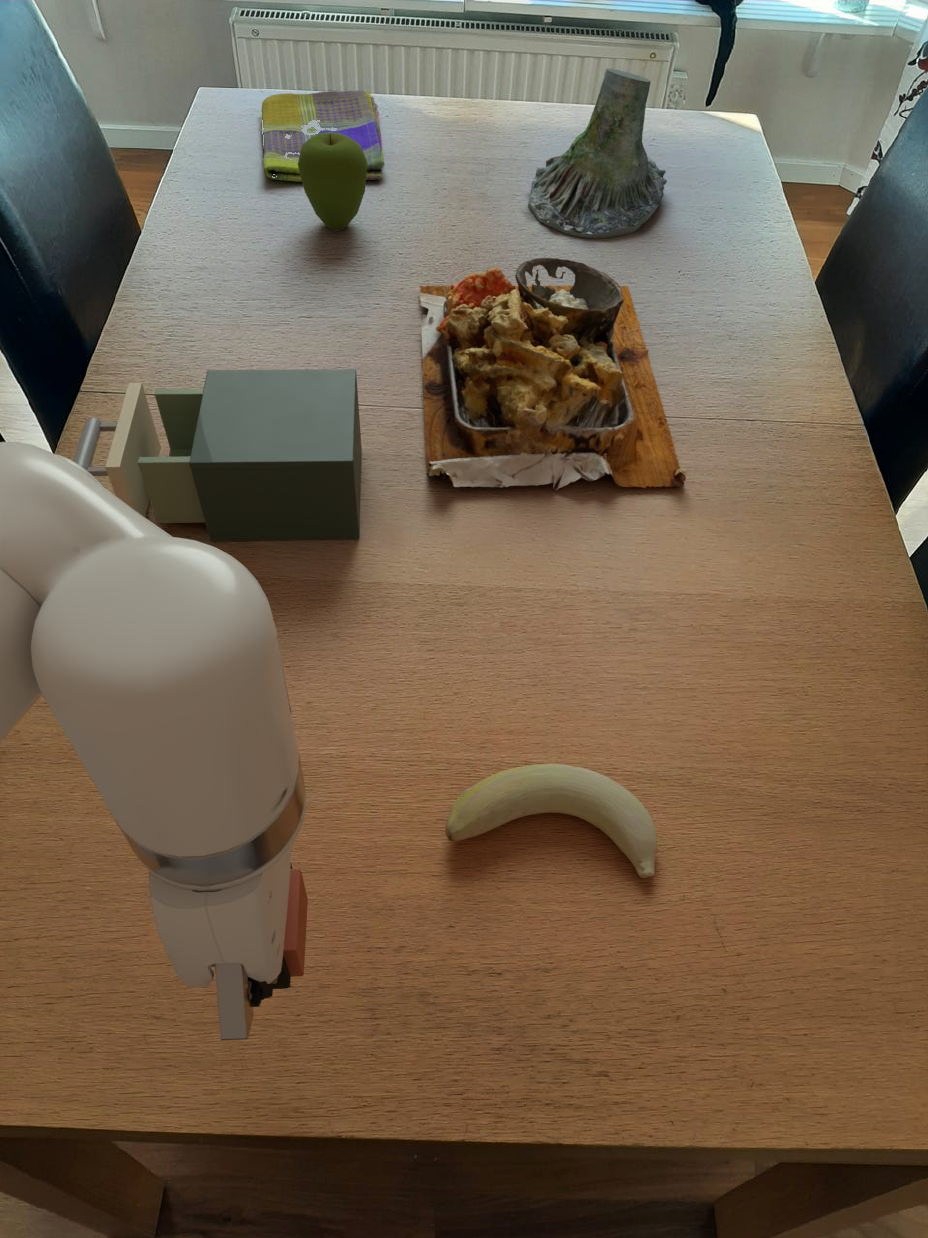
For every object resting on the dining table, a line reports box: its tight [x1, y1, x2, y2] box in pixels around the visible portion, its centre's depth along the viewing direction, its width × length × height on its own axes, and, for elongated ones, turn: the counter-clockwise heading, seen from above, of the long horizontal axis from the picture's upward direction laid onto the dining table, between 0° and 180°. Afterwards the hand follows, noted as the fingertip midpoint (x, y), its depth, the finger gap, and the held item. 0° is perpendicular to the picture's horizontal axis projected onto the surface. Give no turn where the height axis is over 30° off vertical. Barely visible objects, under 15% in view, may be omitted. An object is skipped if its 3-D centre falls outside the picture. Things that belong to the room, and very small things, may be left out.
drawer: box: [72, 382, 205, 524], centre depth 82 cm, size 17×11×8 cm
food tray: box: [419, 257, 688, 493], centre depth 95 cm, size 35×26×11 cm
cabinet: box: [189, 368, 363, 543], centre depth 83 cm, size 14×13×10 cm
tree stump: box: [527, 68, 668, 239], centre depth 120 cm, size 18×20×18 cm
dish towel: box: [260, 89, 385, 183], centre depth 131 cm, size 18×24×3 cm
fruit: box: [444, 763, 658, 879], centre depth 65 cm, size 7×15×3 cm, turn 81°
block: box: [283, 868, 309, 978], centre depth 50 cm, size 4×4×4 cm
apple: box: [298, 132, 368, 232], centre depth 113 cm, size 9×8×12 cm
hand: (265, 935), depth 52 cm, fingers closed on block, 4 cm apart
